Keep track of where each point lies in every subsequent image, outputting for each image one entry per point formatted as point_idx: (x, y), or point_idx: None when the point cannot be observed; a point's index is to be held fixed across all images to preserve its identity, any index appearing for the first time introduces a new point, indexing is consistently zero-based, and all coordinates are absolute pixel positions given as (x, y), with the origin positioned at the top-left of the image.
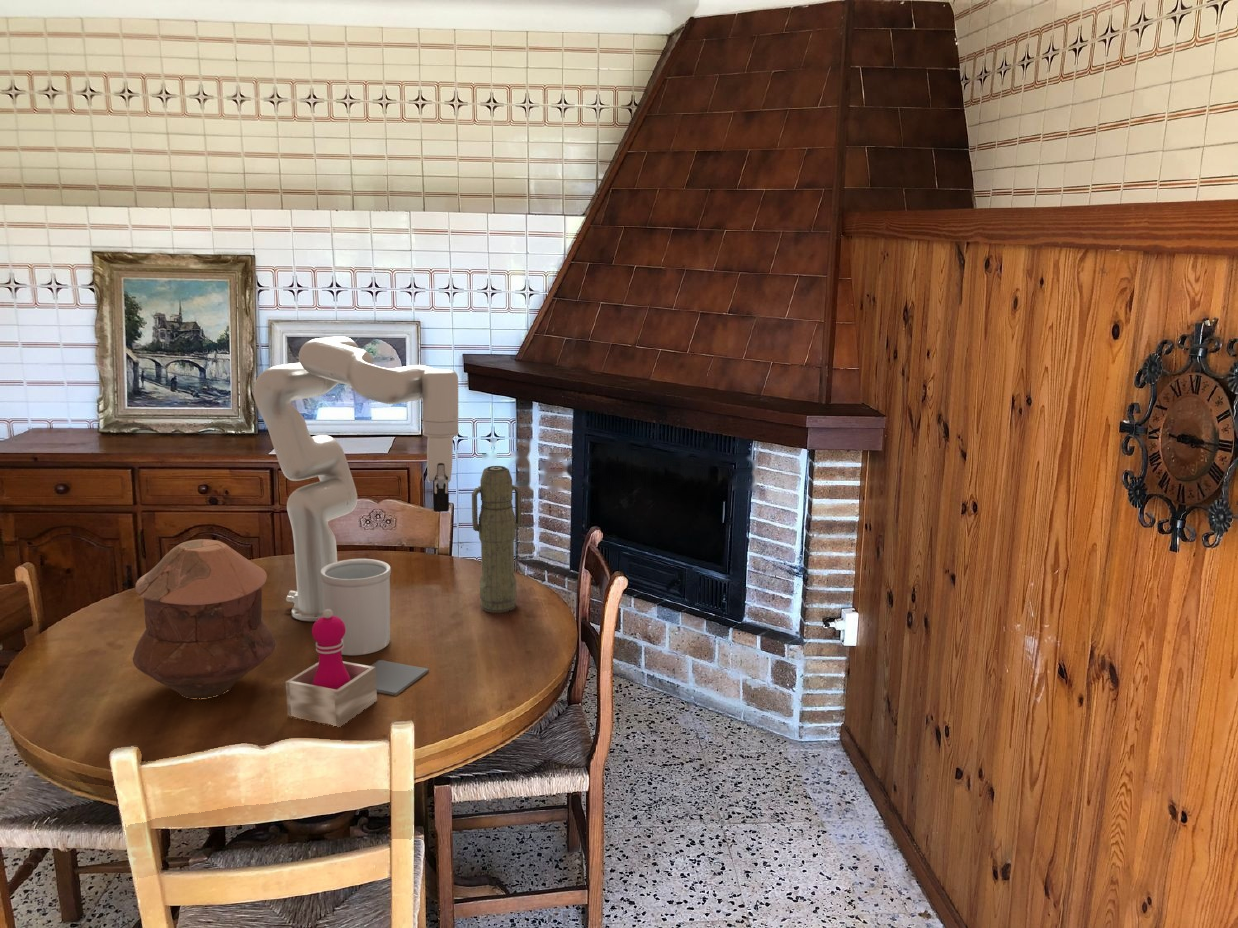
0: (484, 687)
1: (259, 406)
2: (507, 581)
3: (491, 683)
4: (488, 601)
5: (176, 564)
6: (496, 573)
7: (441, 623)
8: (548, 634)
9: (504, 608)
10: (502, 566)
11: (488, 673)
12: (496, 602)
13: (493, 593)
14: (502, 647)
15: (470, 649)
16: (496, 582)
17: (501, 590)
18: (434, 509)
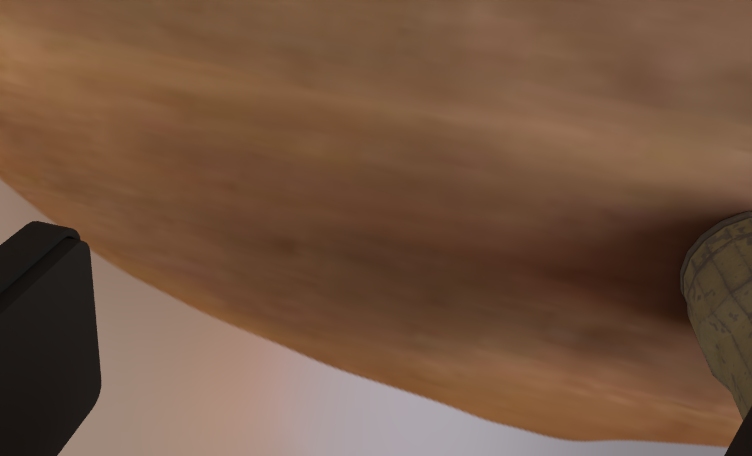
0: (43, 52)
1: None
2: (721, 368)
3: (70, 80)
4: (724, 247)
5: None
6: (741, 354)
7: (681, 13)
8: (407, 339)
9: (685, 284)
10: (742, 401)
11: (144, 88)
12: (697, 272)
13: (714, 284)
14: (344, 183)
15: (358, 74)
16: (727, 326)
17: (701, 320)
18: (21, 240)
